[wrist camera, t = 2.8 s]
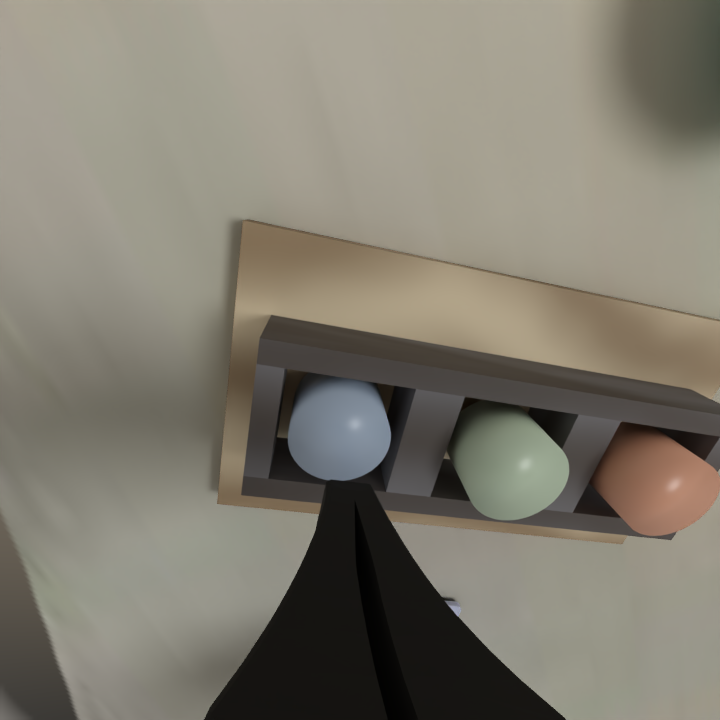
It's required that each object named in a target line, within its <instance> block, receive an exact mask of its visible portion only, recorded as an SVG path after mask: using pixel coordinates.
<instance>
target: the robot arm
mask: <svg viewBox="0 0 720 720" xmlns="http://www.w3.org/2000/svg"><path fill="white" fill-rule="evenodd" d="M460 612H461V608H460V605H459V603H458V602H455V601H444V599H443V598H442V597H441V596H440V594H439V593H438V592H437V591H436V589H435V588H434V587H433V585H432V584H431V583H430V581H429V580H428V579H427V577H426V576H425V575H424V573H423V572H422V570H421V569H420V567H419V566H418V565H417V563H416V562H415V560H414V559H413V557H412V556H411V554H410V553H409V551H408V549H407V548H406V546H405V545H404V543H403V542H402V540H401V538H400V537H399V535H398V533H397V532H396V530H395V528H394V527H393V525H392V523H391V521H390V520H389V518H388V516H387V514H386V512H385V511H384V509H383V507H382V505H381V503H380V501H379V499H378V497H377V495H376V493H375V491H374V489H373V487H372V486H371V485H370V484H367V483H358V482H349V481H341V480H332V479H330V480H329V481H327V482H326V485H325V489H324V494H323V499H322V503H321V508H320V512H319V517H318V521H317V526H316V531H315V533H314V536H313V538H312V541H311V543H310V545H309V548H308V550H307V552H306V555H305V557H304V559H303V561H302V563H301V566H300V568H299V570H298V572H297V574H296V576H295V578H294V580H293V581H292V583H291V585H290V587H289V589H288V591H287V593H286V594H285V596H284V598H283V600H282V601H281V603H280V605H279V607H278V608H277V610H276V612H275V614H274V615H273V617H272V619H271V620H270V622H269V623H268V625H267V627H266V628H265V630H264V631H263V633H262V634H261V636H260V637H259V639H258V640H257V642H256V643H255V645H254V646H253V648H252V650H251V651H250V653H249V654H248V656H247V657H246V659H245V660H244V661H243V663H242V664H241V666H240V667H239V669H238V670H237V671H236V673H235V674H234V675H233V677H232V678H231V679H230V681H229V682H228V684H227V685H226V686H225V688H224V689H223V690H222V692H221V693H220V694H219V696H218V697H217V698H216V700H215V701H214V703H213V704H212V705H211V707H210V709H209V711H208V713H207V715H206V717H205V719H204V720H566V719H565V718H564V717H563V716H562V715H561V714H560V713H558V712H557V711H556V710H555V709H554V708H553V707H551V706H550V705H549V704H548V703H547V702H546V701H544V700H543V699H542V698H541V697H540V696H539V695H538V694H536V693H535V692H534V691H533V690H532V689H531V688H529V687H528V686H527V685H526V684H525V683H524V682H522V681H521V680H520V679H519V678H518V677H517V676H516V675H515V674H514V673H513V672H512V671H511V670H510V669H509V668H507V667H506V666H505V665H504V664H503V663H502V662H501V661H500V660H499V659H498V658H497V657H496V656H495V655H494V654H493V653H492V652H491V651H490V650H489V649H488V648H487V647H486V646H485V645H484V644H483V643H482V642H481V641H480V640H479V639H478V638H477V637H476V635H475V634H474V633H473V632H472V631H471V630H470V629H469V628H468V627H467V626H466V625H465V624H464V623H463V621H462V620H461V619H460V618H459V617H458V616H459V614H460Z"/></svg>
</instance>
